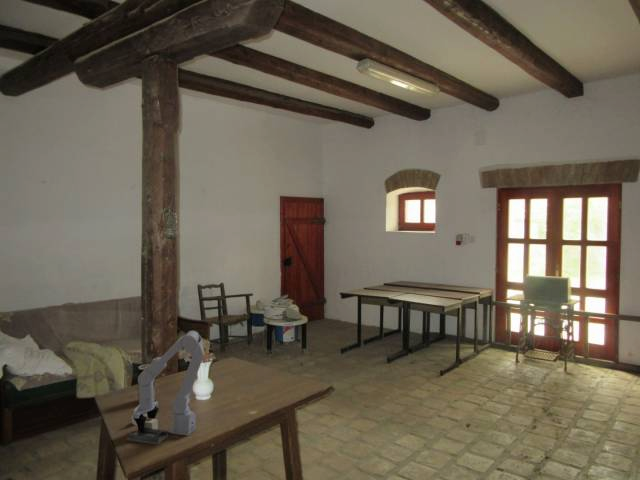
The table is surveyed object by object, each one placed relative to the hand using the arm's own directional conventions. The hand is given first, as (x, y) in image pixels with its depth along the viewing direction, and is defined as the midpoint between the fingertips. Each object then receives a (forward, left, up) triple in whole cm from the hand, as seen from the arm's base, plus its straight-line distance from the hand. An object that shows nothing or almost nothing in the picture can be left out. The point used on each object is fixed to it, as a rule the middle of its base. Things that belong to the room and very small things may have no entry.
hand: (146, 427), depth 209 cm
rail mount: (-4, +5, -2) cm, 7 cm away
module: (0, -1, -2) cm, 2 cm away
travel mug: (+21, -29, -2) cm, 36 cm away
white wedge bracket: (+9, -7, -2) cm, 12 cm away
